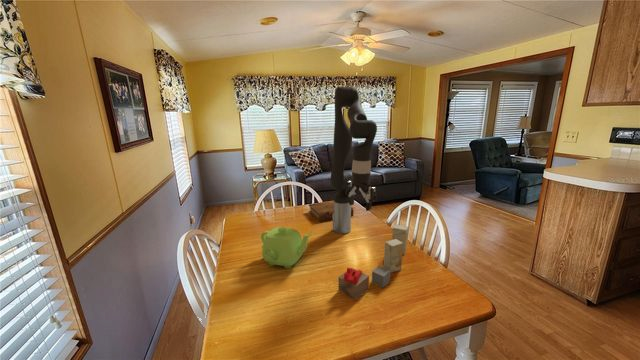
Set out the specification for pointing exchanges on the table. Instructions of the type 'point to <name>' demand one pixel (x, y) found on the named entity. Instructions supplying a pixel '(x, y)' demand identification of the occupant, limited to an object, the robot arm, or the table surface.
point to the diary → (323, 210)
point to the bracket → (349, 275)
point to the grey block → (381, 276)
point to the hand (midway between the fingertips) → (359, 207)
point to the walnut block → (354, 286)
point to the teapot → (283, 246)
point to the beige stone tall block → (400, 235)
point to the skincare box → (393, 255)
